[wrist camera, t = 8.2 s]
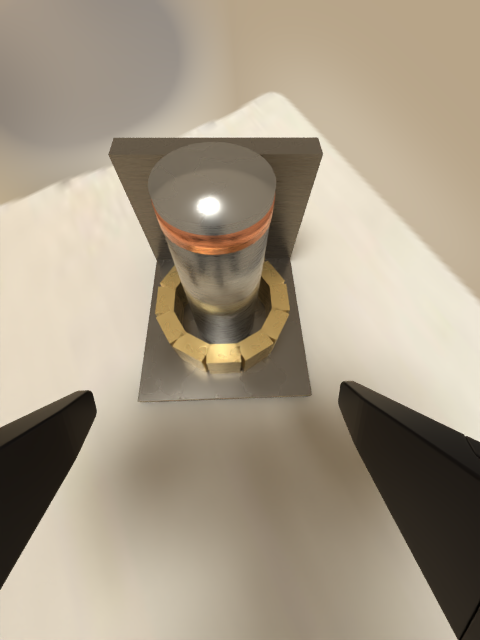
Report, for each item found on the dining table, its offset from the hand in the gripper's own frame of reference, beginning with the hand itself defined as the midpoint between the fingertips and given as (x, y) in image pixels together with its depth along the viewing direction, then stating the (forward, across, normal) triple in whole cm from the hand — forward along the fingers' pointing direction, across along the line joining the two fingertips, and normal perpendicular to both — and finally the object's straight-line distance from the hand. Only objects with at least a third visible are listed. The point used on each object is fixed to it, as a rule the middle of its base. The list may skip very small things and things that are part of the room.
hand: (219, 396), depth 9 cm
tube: (+11, 0, 0) cm, 11 cm away
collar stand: (+12, 0, 0) cm, 12 cm away
